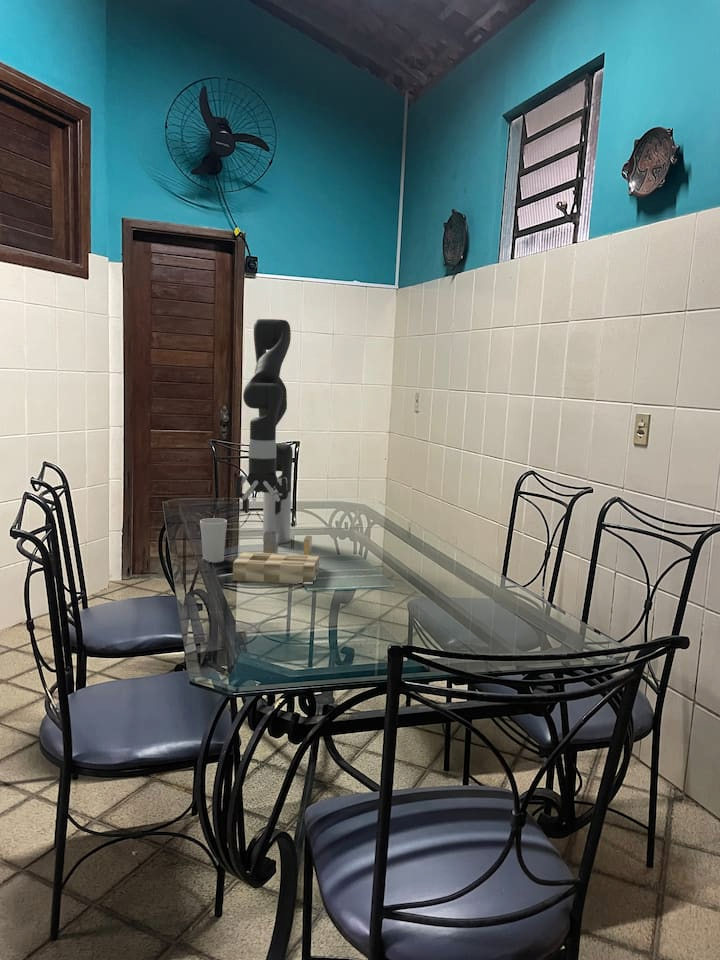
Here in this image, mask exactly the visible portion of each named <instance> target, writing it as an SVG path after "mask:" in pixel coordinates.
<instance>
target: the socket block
mask: <svg viewBox="0 0 720 960" xmlns="http://www.w3.org/2000/svg"><path fill="white" fill-rule="evenodd" d="M319 566H320V555H312V554H311V555H304V554H291V553H278V554H276V553H263V552H253V551H252V552H251V551H250V552H249V551H243V552H242V553H241V554H240V555H238V557H237V558H236V559H235V560H234V561H233V562H232V581H239V582H257V583H259V582H260V583H275V584H276V583H279V584H293V585H294V584H295V585H299V584H298V583H304V582H313V581H314V579H315V577H316V575H317V573H318V571H319V570H320V569H319ZM319 572H320V571H319ZM318 574H319V573H318ZM317 576H318V575H317ZM316 578H317V577H316ZM315 580H316V579H315ZM314 582H315V581H314Z"/></svg>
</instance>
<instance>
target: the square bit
mask: <svg viewBox="0 0 720 960" xmlns="http://www.w3.org/2000/svg"><path fill="white" fill-rule="evenodd" d="M278 549H279V544H278V531H266V532H265V533H264V541H263V552H262V553H276V554H279V553H278V552H279V550H278Z"/></svg>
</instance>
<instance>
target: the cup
mask: <svg viewBox="0 0 720 960" xmlns="http://www.w3.org/2000/svg"><path fill="white" fill-rule="evenodd" d="M227 525H228V520H227V519H225V518H218V517H213V518H211V517H210V518H203V519H200V520H199V526H200V528H199V529H200V535H201V536H200V537H201V552H202V560H203V559H205V560H207V561H209V562H208V563H210V562H212V563H214V564H215V563H221V562H224V561H225V549H226V548H225V547H226V536H227V535H226V533H227Z"/></svg>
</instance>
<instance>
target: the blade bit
mask: <svg viewBox="0 0 720 960" xmlns="http://www.w3.org/2000/svg"><path fill="white" fill-rule="evenodd" d="M312 538H313V536H312V535H305V538H304V539H303V555H312V549H313V548H312V547H313V546H312V545H313V544H312V543H313V539H312Z"/></svg>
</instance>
